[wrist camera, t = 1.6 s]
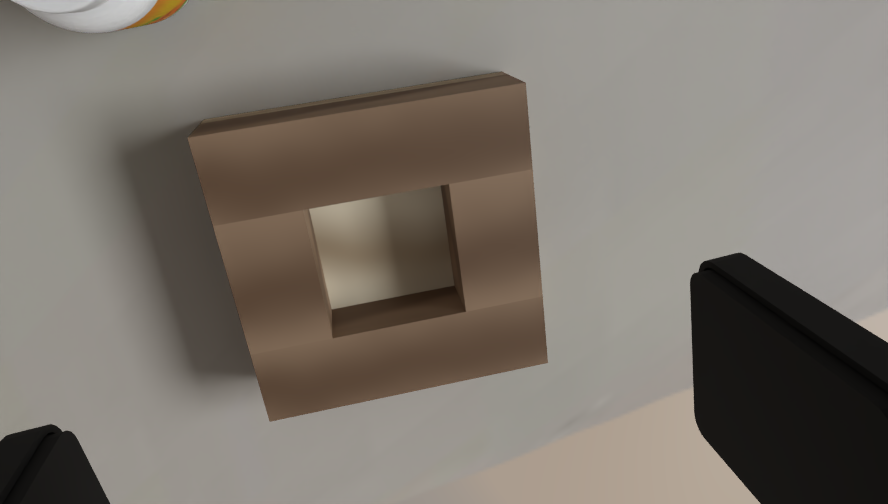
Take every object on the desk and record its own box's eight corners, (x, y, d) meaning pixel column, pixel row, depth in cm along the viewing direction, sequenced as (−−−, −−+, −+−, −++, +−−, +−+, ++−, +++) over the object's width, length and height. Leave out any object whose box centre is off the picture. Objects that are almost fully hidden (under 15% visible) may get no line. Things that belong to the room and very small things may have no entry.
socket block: (204, 119, 30) (187, 137, 26) (501, 71, 31) (525, 82, 27) (275, 376, 35) (269, 421, 31) (525, 325, 37) (547, 362, 33)
